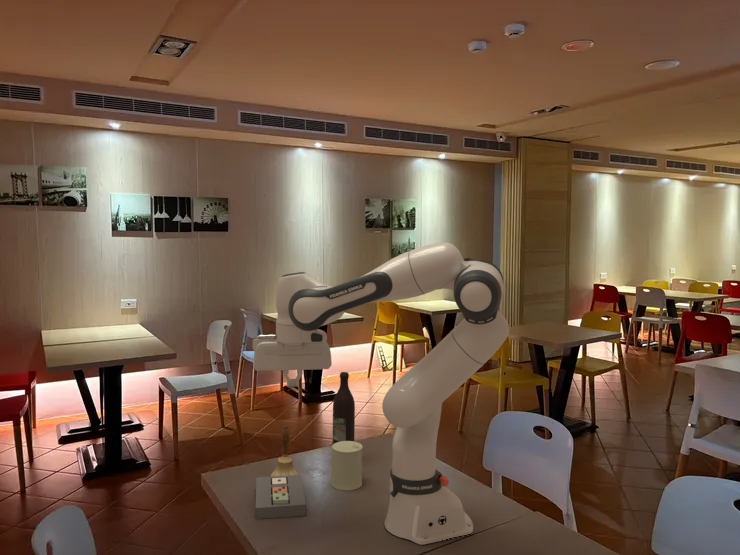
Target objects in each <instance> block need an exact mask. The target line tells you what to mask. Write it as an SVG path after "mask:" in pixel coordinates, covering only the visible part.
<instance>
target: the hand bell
mask: <svg viewBox="0 0 740 555" xmlns="http://www.w3.org/2000/svg"><path fill="white" fill-rule="evenodd" d="M281 429H282V430H281V432H280V440H281V445H282V448H281V449H282V452H281V454H282V455H281V457H278V458H277V461H276V462H277V463H276V468H275V469H274V471H273V472H272V473H271V475H270V477H273V476H289V475H299V473H298V472H297V471H296V470H295V467H294V464H293V458H291V457H290V456H289V451H288V449H289V447H288V446H289V443H290V430H289V427H288V425H287V424H284V425H283V426H282V428H281Z"/></svg>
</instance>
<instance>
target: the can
mask: <svg viewBox="0 0 740 555" xmlns="http://www.w3.org/2000/svg"><path fill="white" fill-rule="evenodd" d="M363 446H364V445H363V444H361V443H360V442H357V441H355V440H354V441H341V442H337V443H335V444H333V443H332V445H331V450H332V451H331V453H332V454H331V455H332V457H331V464H332V466H331V482H330V484H331V487H333V489H335V490H339V491H346V492H347V491H354V490H357V489H359V488H361V487H362V486H363V475H362V474H363V472H362V471H363Z"/></svg>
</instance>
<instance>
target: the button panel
mask: <svg viewBox="0 0 740 555" xmlns="http://www.w3.org/2000/svg"><path fill="white" fill-rule="evenodd" d="M285 477H286V483H287V484H284V485H272V478H285ZM284 486H287V493H288V504H279V505H273V495H272V487H284ZM303 516H305V517H306V516H307V504H306V496H305V490H304V485H303V478H302V474H298V475H289V476H273V477H271V476H258V477H256V478H255V520H262V518H264V519H265V518H267V519H277V518H278V517H280V518H291V517H303ZM278 519H279V518H278Z"/></svg>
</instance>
